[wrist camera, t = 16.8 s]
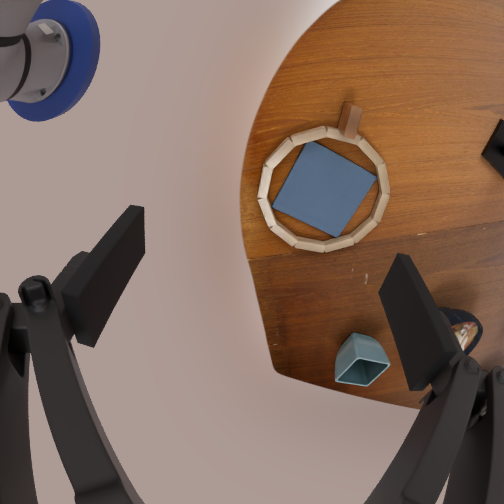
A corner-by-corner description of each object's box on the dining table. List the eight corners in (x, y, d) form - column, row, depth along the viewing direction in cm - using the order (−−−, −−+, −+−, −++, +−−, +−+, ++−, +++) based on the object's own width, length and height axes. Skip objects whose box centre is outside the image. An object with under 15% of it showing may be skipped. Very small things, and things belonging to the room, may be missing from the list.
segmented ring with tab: (279, 85, 36) (281, 87, 33) (409, 123, 38) (421, 129, 34) (248, 235, 50) (247, 249, 46) (361, 255, 51) (367, 269, 48)
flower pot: (382, 332, 61) (392, 364, 54) (361, 355, 66) (367, 387, 59) (350, 323, 60) (357, 357, 53) (329, 348, 65) (333, 381, 57)
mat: (271, 205, 47) (271, 207, 47) (308, 138, 41) (308, 139, 40) (336, 236, 49) (337, 238, 49) (376, 176, 43) (377, 177, 43)
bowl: (397, 349, 65) (407, 383, 56) (412, 296, 55) (428, 332, 47) (455, 339, 62) (468, 369, 54) (477, 287, 53) (496, 318, 45)
